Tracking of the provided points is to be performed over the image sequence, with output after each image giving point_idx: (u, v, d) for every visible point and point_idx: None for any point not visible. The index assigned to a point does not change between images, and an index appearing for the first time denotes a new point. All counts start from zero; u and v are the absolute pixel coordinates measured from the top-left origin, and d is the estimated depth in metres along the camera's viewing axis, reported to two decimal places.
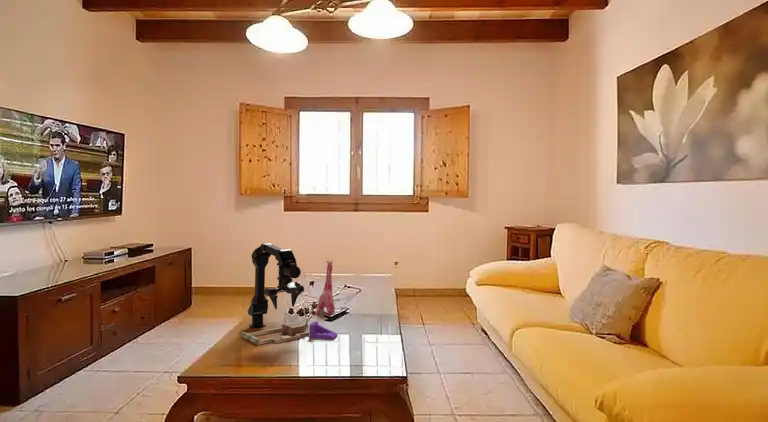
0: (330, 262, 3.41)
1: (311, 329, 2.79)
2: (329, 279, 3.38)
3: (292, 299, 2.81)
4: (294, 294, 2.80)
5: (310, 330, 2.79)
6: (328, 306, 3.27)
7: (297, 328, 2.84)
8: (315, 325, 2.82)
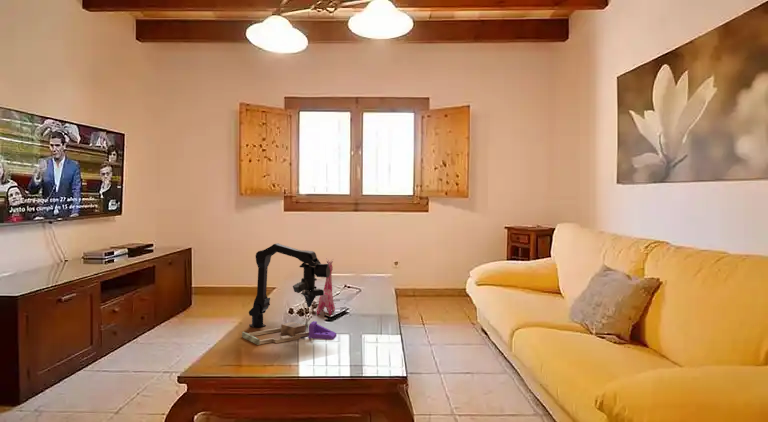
0: (330, 262, 3.41)
1: (310, 329, 2.79)
2: (329, 279, 3.38)
3: None
4: None
5: (309, 330, 2.79)
6: (328, 306, 3.27)
7: (299, 328, 2.84)
8: (314, 325, 2.82)
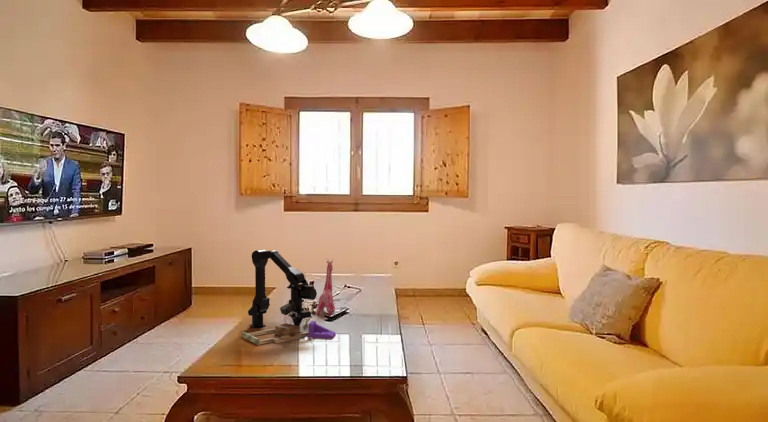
0: (330, 262, 3.41)
1: (310, 328, 2.80)
2: (329, 279, 3.38)
3: None
4: None
5: (309, 329, 2.80)
6: (328, 306, 3.27)
7: (293, 329, 2.82)
8: (314, 324, 2.83)
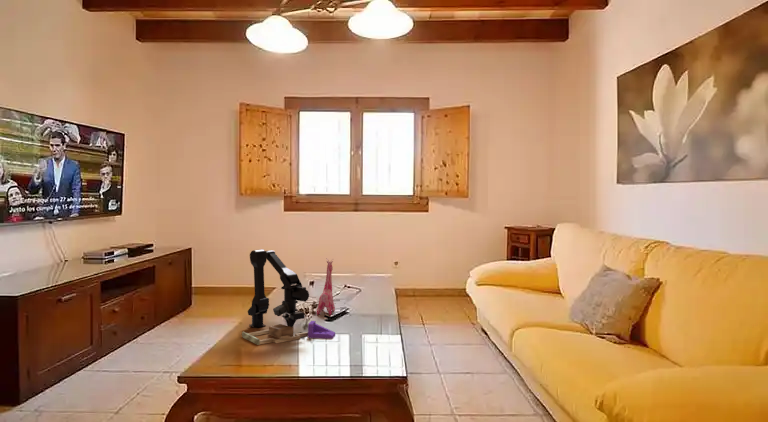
0: (330, 262, 3.41)
1: (310, 328, 2.80)
2: (329, 279, 3.38)
3: None
4: None
5: (309, 329, 2.80)
6: (328, 306, 3.27)
7: (286, 330, 2.79)
8: (313, 324, 2.83)
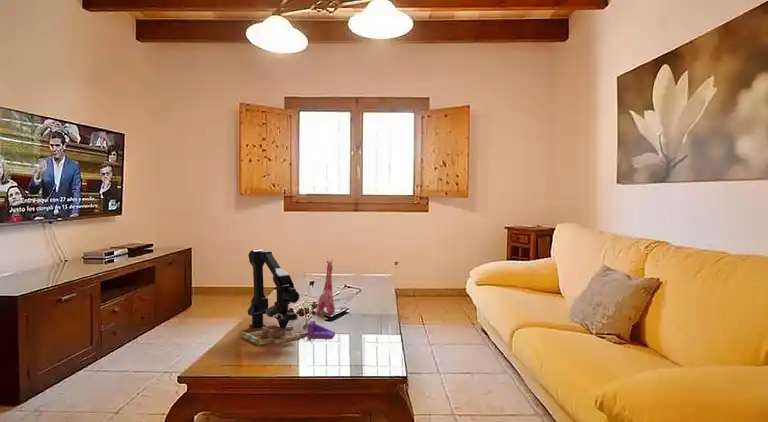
0: (330, 262, 3.41)
1: (309, 328, 2.80)
2: (329, 279, 3.38)
3: None
4: None
5: (308, 329, 2.81)
6: (328, 306, 3.27)
7: (277, 332, 2.77)
8: (313, 324, 2.83)
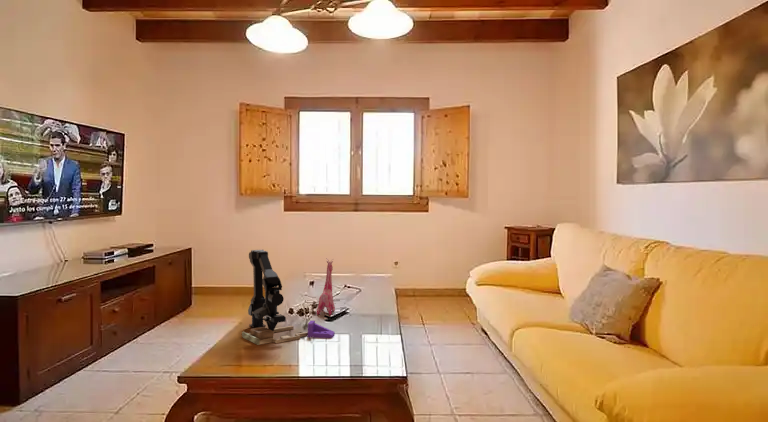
0: (330, 262, 3.41)
1: (309, 328, 2.81)
2: (329, 279, 3.38)
3: None
4: None
5: (308, 329, 2.81)
6: (328, 306, 3.27)
7: (265, 333, 2.73)
8: (313, 324, 2.84)
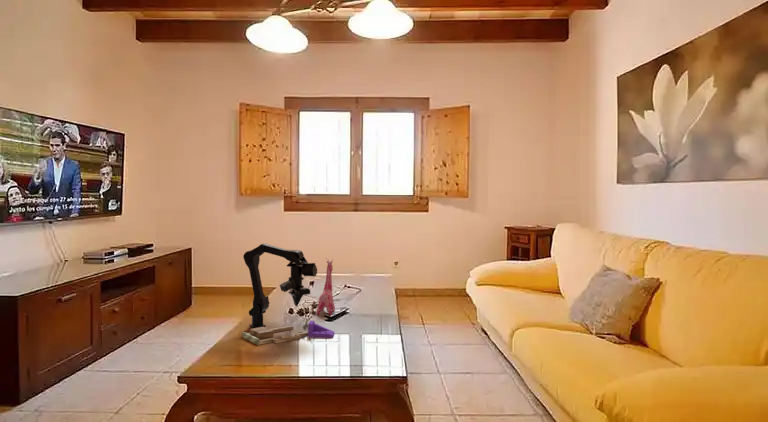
0: (330, 262, 3.41)
1: (310, 328, 2.81)
2: (329, 279, 3.38)
3: None
4: None
5: (309, 329, 2.81)
6: (328, 306, 3.27)
7: (265, 333, 2.73)
8: (313, 324, 2.84)
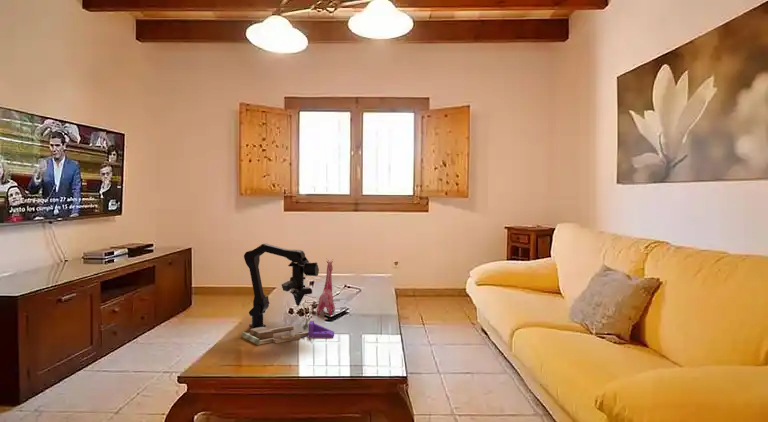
0: (330, 262, 3.41)
1: (310, 328, 2.80)
2: (329, 279, 3.38)
3: None
4: None
5: (309, 329, 2.80)
6: (328, 306, 3.27)
7: (265, 333, 2.73)
8: (313, 324, 2.83)
